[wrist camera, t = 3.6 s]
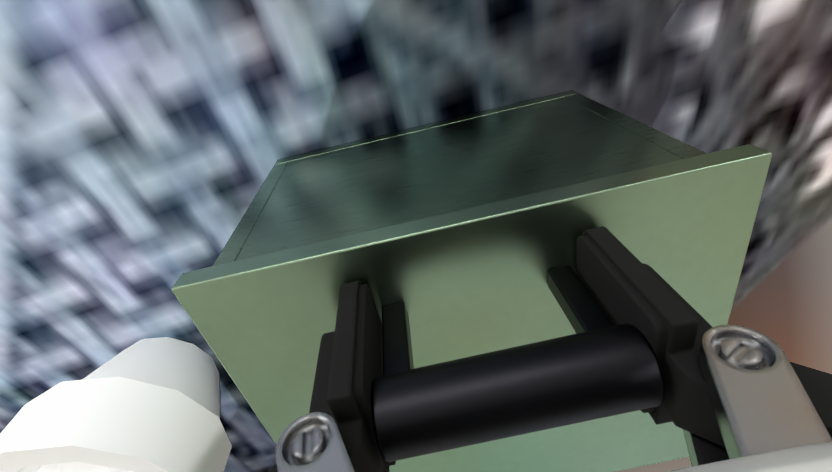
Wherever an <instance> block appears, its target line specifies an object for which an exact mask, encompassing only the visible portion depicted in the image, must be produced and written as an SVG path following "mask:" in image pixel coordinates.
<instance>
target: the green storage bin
mask: <svg viewBox="0 0 832 472" xmlns="http://www.w3.org/2000/svg"><path fill="white" fill-rule="evenodd" d="M704 154H707V153H705V152H703V151H701V150H699V149H697V148H694V147H692V146H690V145H688V144H686V143H684V142H682V141H679V140H677V139H675V138H673V137H671V136H669V135H667V134H664V133H662V132H660V131H658V130H656V129H654V128H652V127H649V126H647V125H645V124H643V123H641V122H639V121H636V120H634V119H632V118H630V117H628V116H626V115H624V114H621V113H619V112H617V111H615V110H613V109H611V108H609V107H606V106H604V105H602V104H600V103H598V102H596V101H594V100H591V99H589V98H587V97H585V96H583V95H581V94H578V93H577V92H574V91H572V90H571V91H567V92H563V93H559V94H554V95H550V96H546V97H542V98H537V99H533V100H529V101H525V102H520V103H516V104H512V105H508V106H503V107H499V108H495V109H491V110H487V111H482V112H478V113H474V114H470V115H465V116H461V117H457V118H453V119H448V120H444V121H440V122H436V123H431V124H427V125H423V126H419V127H414V128H410V129H406V130H402V131H397V132H393V133H389V134H385V135H380V136H376V137H372V138H368V139H363V140H359V141H355V142H351V143H346V144H342V145H338V146H334V147H330V148H325V149H321V150H317V151H313V152H308V153H304V154H300V155H296V156H291V157H287V158H283V159H279V160H277V162H276V163H275V165H274V167H273V168H272V170H271V172H270V173H269V175H268V177H267V178H266V180H265V182H264V183H263V185H262V186H261V188H260V190H259V191H258V193H257V195H256V196H255V198H254V199H253V201H252V203H251V204H250V206H249V208H248V209H247V211H246V213H245V214H244V216H243V217H242V219H241V221H240V222H239V224H238V226H237V227H236V229H235V230H234V232H233V234H232V235H231V237H230V239H229V240H228V242H227V244H226V245H225V247H224V248H223V250H222V252H221V253H220V255H219V257H218V258H217V260H216V261H215V263H214V265H213V266H217V265H221V264H225V263H230V262H234V261H239V260H243V259H247V258H252V257H256V256H260V255H265V254H269V253H274V252H278V251H282V250H287V249H291V248H296V247H300V246H304V245H309V244H313V243H318V242H322V241H326V240H331V239H335V238H340V237H344V236H348V235H353V234H357V233H362V232H366V231H370V230H375V229H379V228H383V227H388V226H392V225H397V224H401V223H405V222H410V221H414V220H419V219H423V218H427V217H432V216H436V215H441V214H445V213H449V212H454V211H458V210H463V209H467V208H471V207H476V206H480V205H484V204H489V203H493V202H498V201H502V200H506V199H511V198H515V197H520V196H524V195H528V194H533V193H537V192H542V191H546V190H550V189H555V188H559V187H564V186H568V185H572V184H577V183H581V182H586V181H590V180H594V179H599V178H603V177H607V176H612V175H616V174H621V173H625V172H629V171H634V170H638V169H643V168H647V167H651V166H656V165H660V164H665V163H669V162H673V161H678V160H682V159H687V158H691V157H695V156H700V155H704Z"/></svg>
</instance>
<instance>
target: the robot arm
mask: <svg viewBox="0 0 832 472" xmlns="http://www.w3.org/2000/svg"><path fill="white" fill-rule="evenodd" d="M576 275H577V276H578V278H579V279H580V280H581V282H582V283H583V284H584V286H585V287H586V288H587V290H588V291H589V293H590V294H591V295H592V297H593V298H594V299H595V301H596V302H597V304H598V305H599V306H600V308H601V309H602V310H603V312H604V313H605V314H606V316H607V317H608V319H609V320H610V321H611V323H612V324H613V325H619V324H624V323H625V324H630V325H633V326H634V327H636V328H637V329H638V330H639V331H640V332H641V333H642V334H643V335H644V337H645V338H646V339H647V341H648V342H649V344H650V345H651V347H652V349H653V351H654V353H655V355H656V357H657V359H658V362H659V365H660V367H661V371H662V374H663V378H664V384H665V397H664V400H663V402H662V403H661V404H660V405H659V406H657V407H652V408H648V409H643V410H640V411H642V412H643V413H647V412H648V413H649V414H650V416H651V417H652V419H653V420H654V422H655V423H656V425H658V424H663V423H668V422H672V421H673V423H674V424H675V426H677V427H679V428H681V429H683V432H684V436H685V441H686V445H687V449H688V453H689V457H690V461H691V465H692V467H688V468H683V469H678V470H672V471H668V472H832V374H829V373H825V372H821V371H819V370H815V369H812V368H808V367H805V366H802V365H799V364H795V363H792V362H789V360H788V358H787V356H786V355H785V353H784V351H783V350H782V349H781V348H780V346H779V345H778V344H777V343H776V342H775V341H773V340H772V339H771V338H769V337H768V336H766V335H764V334H762V333H760V332H758V331H756V330H753V329H750V328H747V327H744V326H736V325H719V326H716V327H712V326H711V325H710V324H709V323H708V322H707V321H706V320H705V319H704V318H703V317H702V316H701V315H700V314H699V313H698V312H697V311H696V310H695V309H694V308H693V307H692V306H691V305H690V304H689V303H688V302H687V301H686V300H684V299H683V298H682V297H681V296H680V295H679V294H678V293H677V292H676V291H675V290H674V289H673V288H672V287H671V286H670V285H669V284H668V283H667V282H666V281H665V280H664V279H663V278H662V277H661V276H660V275H659V274H658V273H657V272H656V271H655V270H654V269H653V268H652V267H650V266H649V265H648V264H644V263H643V264H642V263H641V262H640V261H639V260H638V259H637V258H636V257H635V256H634V255H633V254H632V253H631V252H630V251H629V250H628V249H627V248H626V247H625V246H624V245H623V244H622V243H621V242H620V241H619V240H618V239H617V238H616V237H615V236H614V235H613V234H612V233H611V232H610V231H609V230H608V229H607V228H606V227H604V226H602V227H597V228H593V229H588V230H584V231H583V232H582V236H579V237H577V242H576ZM382 375H383V352H382V323H381V320H380V317H379V315H378V312H377V309H376V306H375V303H374V300H373V297H372V294H371V292H370V289H369V286H368V284H364V285H362V284H361V282H360V281H356V282H351V283H347V284H342V285H341V286H340V293H339V301H338V309H337V317H336V325H335V331H333V332H329V333H324V334H323V335H322V337H321V342H320V348H319V354H318V360H317V367H316V373H315V379H314V385H313V391H312V397H311V404H310V410H309V413H307V414H305V415H303V416H300V417H298V418H297V419H296V420H294V421H293V422H291V423H290V424H289V425H288V427H287V428H286V429H285V430H284V431H283V433H282V434H281V436H280V438H279V439H278V442H277V445H276V449H275V459H276V464H275V465H274V466H273V467H272V468H271V469H270V470H269V471H268V472H389V466H392V465H395V464H396V461H392V462H388V461H385V460H384V459H383V457H382V455H381V453H380V450H379V447H378V444H377V441H376V437H375V432H374V426H373V420H372V409H371V387H372V382H373V379H374V378H376V377H377V376H382Z"/></svg>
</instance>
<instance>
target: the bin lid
mask: <svg viewBox="0 0 832 472" xmlns="http://www.w3.org/2000/svg"><path fill="white" fill-rule="evenodd" d="M771 157H772V153H771V152H769V151H766V150H764V149H761V148H758V147H756V146H753V145H750V144H748V145H744V146H739V147H735V148H730V149H726V150H722V151H717V152H713V153H708V154H704V155H700V156H695V157H691V158H687V159H682V160H678V161H673V162H669V163H665V164H660V165H656V166H651V167H647V168H643V169H638V170H634V171H629V172H625V173H621V174H616V175H612V176H607V177H603V178H599V179H594V180H590V181H586V182H581V183H577V184H572V185H568V186H564V187H559V188H555V189H550V190H546V191H542V192H537V193H533V194H528V195H524V196H520V197H515V198H511V199H506V200H502V201H498V202H493V203H489V204H484V205H480V206H476V207H471V208H467V209H463V210H458V211H454V212H449V213H445V214H441V215H436V216H432V217H427V218H423V219H419V220H414V221H410V222H405V223H401V224H397V225H392V226H388V227H383V228H379V229H375V230H370V231H366V232H362V233H357V234H353V235H348V236H344V237H340V238H335V239H331V240H326V241H322V242H318V243H313V244H309V245H304V246H300V247H296V248H291V249H287V250H282V251H278V252H274V253H269V254H265V255H260V256H256V257H252V258H247V259H243V260H239V261H234V262H230V263H225V264H221V265H217V266H212V267H208V268H203V269H199V270H195V271H190V272H186V273H183V274H182V275H181V276H180V277H179V279H178V280H177V282H176V283H175V284H174V286H173V287H172V291H173V293H174V294H175V296H176V297H177V299H178V300H179V302H180V303H181V305H182V306H183V308H184V309H185V311H186V312H187V314H188V315H189V316H190V318H191V319H192V321H193V322H194V324H195V325H196V327H197V328H198V330H199V331H200V333H201V334H202V336H203V337H204V339H205V340H206V342H207V343H208V345H209V346H210V348H211V349H212V350H213V352H214V353H215V355H216V356H217V358H218V359H219V361H220V362H221V364H222V365H223V367H224V368H225V370H226V371H227V373H228V374H229V376H230V377H231V379H232V380H233V381H234V383H235V384H236V386H237V387H238V389H239V390H240V392H241V393H242V395H243V396H244V398H245V399H246V401H247V402H248V404H249V405H250V407H251V408H252V410H253V411H254V412H255V414H256V415H257V417H258V418H259V420H260V421H261V423H262V424H263V426H264V427H265V429H266V430H267V432H268V433H269V435H270V436H271V438H272V439H273V441H274V442H275V443H276V445H277V442H278V439H279V438H280V436H281V434H282V433H283V431H284V430H285V429H286V428H287V427H288V425H289V424H290V423H291V422H293V421H294V420H296V419H297V418H298V417H300V416H303V415H305V414H307V413H309V410H310V404H311V397H312V391H313V385H314V379H315V373H316V367H317V360H318V354H319V348H320V342H321V337H322V335H323V334H324V333H329V332H333V331H335V325H336V317H337V309H338V301H339V293H340V286H341V285H342V284H347V283H351V282H356V281H360V282H361V284H362V285H364V284H368V286H369V289H370V292H371V294H372V297H373V300H374V303H375V306H376V309H377V312H378V315H379V317H380V320H381V323H382V352H383V375H382V376H377V377H376V378H374V379H373V382H372V387H371V409H372V420H373V426H374V432H375V437H376V441H377V444H378V447H379V450H380V453H381V455H382V457H383V459H384V460H385V461H388V462H392V461H396V464H395V465H392V466H389V472H615V471H620V470H625V469H630V468H635V467H640V466H645V465H650V464H655V463H659V462H665V461H670V460H675V459H679V458H684V457H689V453H688V449H687V445H686V441H685V436H684V432H683V429H681V428H679V427H677V426H675V424H674V423H673V421H672V422H668V423H663V424H658V425H656V423H655V422H654V420H653V419H652V417H651V416H650V414H649V413H648V412H647V413H643V412H642V411H640V410H643V409H648V408H652V407H657V406H659V405H660V404H661V403H662V402H663V400H664V397H665V384H664V378H663V374H662V371H661V367H660V365H659V362H658V359H657V357H656V355H655V353H654V351H653V349H652V347H651V345H650V344H649V342H648V341H647V339H646V338H645V337H644V335H643V334H642V333H641V332H640V331H639V330H638V329H637V328H636V327H634V326H633V325H630V324H625V323H624V324H619V325H613V324H612V323H611V321H610V320H609V319H608V317H607V316H606V314H605V313H604V312H603V310H602V309H601V308H600V306H599V305H598V304H597V302H596V301H595V299H594V298H593V297H592V295H591V294H590V293H589V291H588V290H587V288H586V287H585V286H584V284H583V283H582V282H581V280H580V279H579V278H578V276H577V275H576V242H577V237H579V236H582V232H583V231H584V230H588V229H593V228H597V227H602V226H604V227H606V228H607V229H608V230H609V231H610V232H611V233H612V234H613V235H614V236H615V237H616V238H617V239H618V240H619V241H620V242H621V243H622V244H623V245H624V246H625V247H626V248H627V249H628V250H629V251H630V252H631V253H632V254H633V255H634V256H635V257H636V258H637V259H638V260H639V261H640V262H641V263H642V264H643V263H644V264H648V265H649V266H650V267H652V268H653V269H654V270H655V271H656V272H657V273H658V274H659V275H660V276H661V277H662V278H663V279H664V280H665V281H666V282H667V283H668V284H669V285H670V286H671V287H672V288H673V289H674V290H675V291H676V292H677V293H678V294H679V295H680V296H681V297H682V298H683V299H684V300H686V301H687V302H688V303H689V304H690V305H691V306H692V307H693V308H694V309H695V310H696V311H697V312H698V313H699V314H700V315H701V316H702V317H703V318H704V319H705V320H706V321H707V322H708V323H709V324H710V325H711V326H712V327H716V326H719V325H727V323H728V320H729V316H730V312H731V309H732V305H733V301H734V297H735V293H736V290H737V286H738V282H739V278H740V275H741V271H742V267H743V263H744V259H745V256H746V252H747V248H748V244H749V241H750V237H751V233H752V229H753V225H754V222H755V218H756V214H757V210H758V207H759V203H760V199H761V195H762V191H763V188H764V184H765V180H766V176H767V173H768V169H769V165H770V161H771Z"/></svg>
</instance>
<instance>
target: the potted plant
mask: <svg viewBox="0 0 832 472" xmlns="http://www.w3.org/2000/svg"><path fill="white" fill-rule="evenodd" d="M231 448H232V445H231V443H230V441H229V439H228V436H227V434H226V432H225V430H224V428H223V425H222V423H221V421H220V397H219V372H218V370H217V367H216V365H215V363H214V360H213V358H212V357H211V356H209V355H208V354H206V353H205V352H204V351H202V350H201V349H200V348H198V347H197V346H196V345H194V344H191V343H188V342H184V341H180V340H177V339H173V338H169V337H162V338H150V339H141V340H140V341H138V342H136V343H135V344H133V345H131V346H130V347H128V348H127V349H125V350H123V351H122V352H121V353H119V354H118V355H116V356H115V357H114V358H112V359H111V360H109V361H108V362H106V363H105V364H104V365H102V366H101V367H99V368H98V369H96V370H95V371H94V372H92V373H91V374H89V375H88V376H87V377H85V378H84V379H82V380H76V381H64V382H60V383H59V384H57V385H55V386H54V387H52V388H51V389H49V390H47V391H46V392H44V393H43V394H41V395H39V396H38V397H36V398H35V399H33V400H31V401H30V402H28V403H27V404H25V405H24V406H23V408H22V409H21V410H20V411H19V412H18V413H17V415H16V416H15V417H14V418H13V419H12V420H11V421H10V423H9V424H8V425H7V426H6V427H5V428H4V430H3V431H2V432H1V433H0V472H224V469H225V466H226V463H227V460H228V457H229V454H230V451H231Z"/></svg>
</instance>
